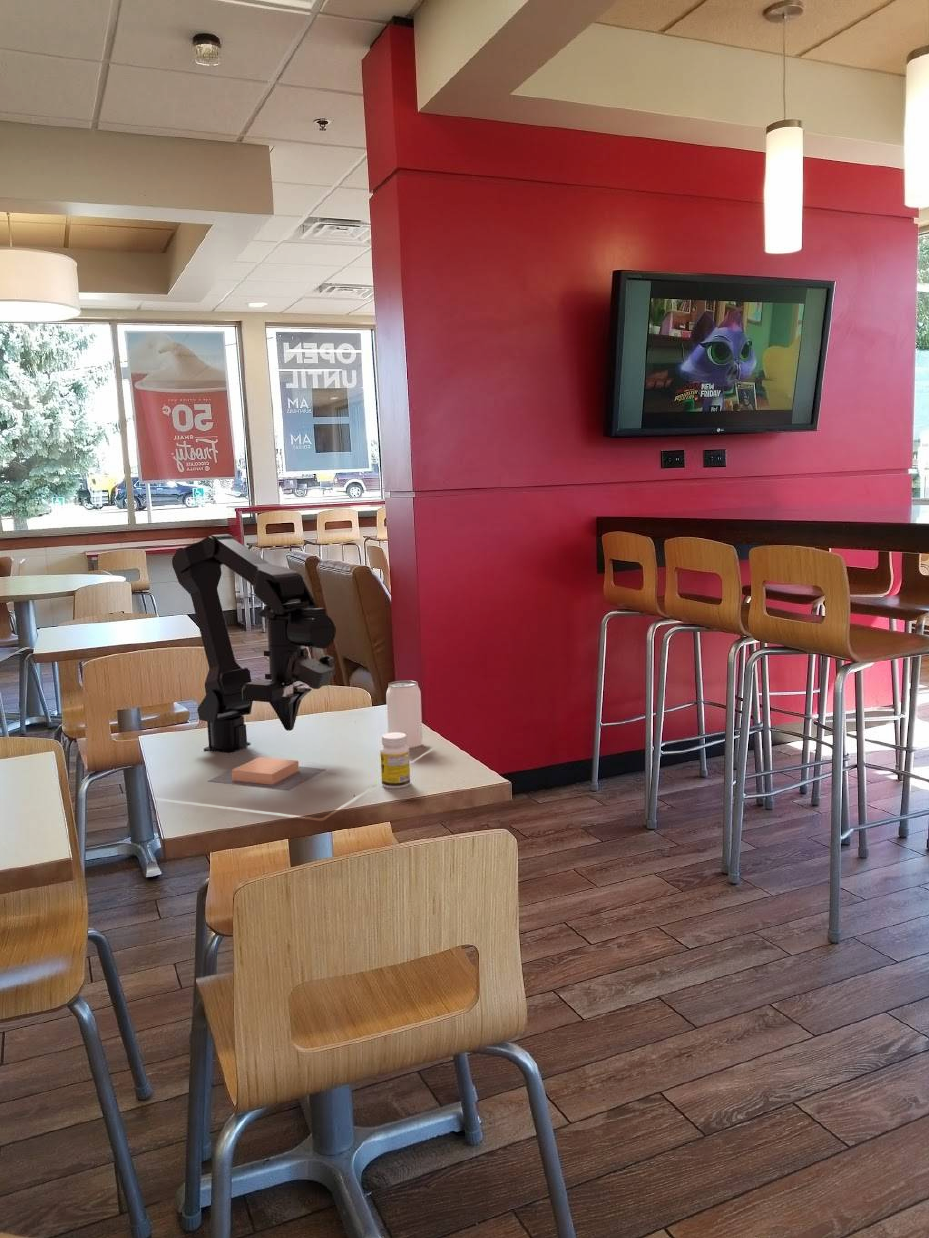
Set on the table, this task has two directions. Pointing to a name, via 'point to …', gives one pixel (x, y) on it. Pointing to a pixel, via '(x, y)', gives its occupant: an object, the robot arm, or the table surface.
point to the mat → (284, 784)
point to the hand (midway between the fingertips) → (289, 730)
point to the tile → (265, 770)
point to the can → (405, 711)
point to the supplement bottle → (395, 761)
